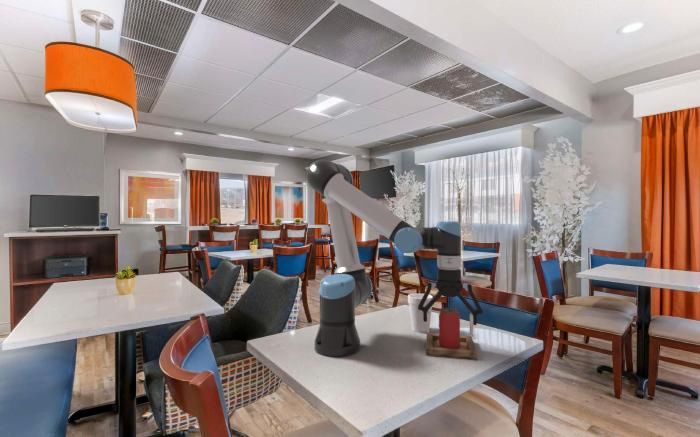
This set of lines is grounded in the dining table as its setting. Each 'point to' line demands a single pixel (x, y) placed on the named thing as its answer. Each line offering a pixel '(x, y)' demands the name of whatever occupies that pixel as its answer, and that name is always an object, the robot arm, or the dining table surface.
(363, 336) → the dining table surface
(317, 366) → the dining table surface
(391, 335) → the dining table surface
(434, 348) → the wooden tray
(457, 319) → the beer can
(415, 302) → the foam cup
